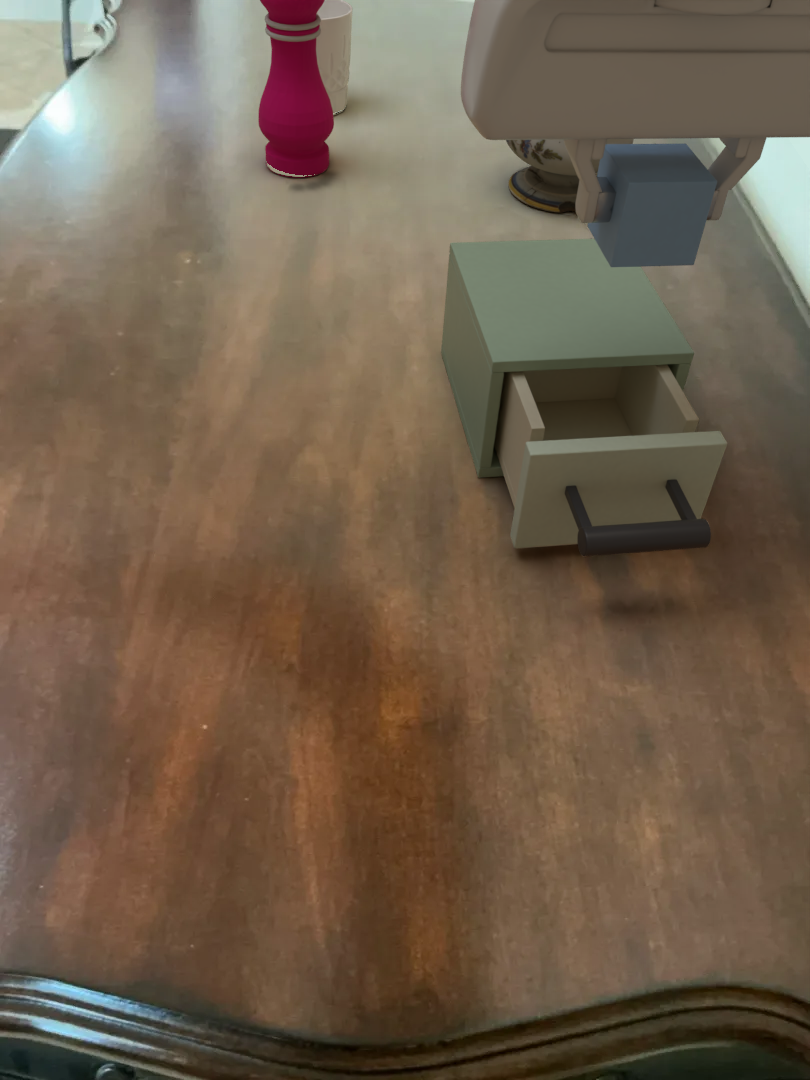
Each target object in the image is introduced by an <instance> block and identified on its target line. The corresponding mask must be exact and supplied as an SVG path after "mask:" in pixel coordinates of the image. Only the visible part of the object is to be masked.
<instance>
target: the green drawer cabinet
mask: <svg viewBox="0 0 810 1080" xmlns="http://www.w3.org/2000/svg"><path fill="white" fill-rule="evenodd" d="M447 263H448V265H447V278H446V286H445V287H446V288H445V289H446V290H445V300H444V311H443V312H444V313H443V325H442V334H441V335H442V336H441V348H440V354H441V357H442V361H443V364H444V367H445V368H444V369H445V371H446V374H447V378H448V382H449V385H450V388H451V391H452V394H453V398H454V401H455V406H456V408H457V411H458V415H459V418H460V421H461V425H462V429H463V431H464V435H465V437H466V442H467V445H468V447H469V452H470V455H471V458H472V461H473V466H474V468H475V472H476V474H477V478H478V479H479V478H481V479H482V478H495V477H504V474H503V471H502V468H501V465H500V462H499V459H498V456H497V453H496V450H495V447H494V441H495V434H496V427H497V420H498V413H499V406H500V398H501V391H502V384H503V377H504V372H516V371H537V370H559V369H580V368H601V367H623V366H644V365H665V364H667V365H668V367H669V368H670V370H671V372H672V374H673V375H674V377H675V379H676V380H677V382H678V384H679V386H680V387H681V389H682V391H683V392H684V390H685V386H686V383H687V379H688V376H689V373H690V369H691V366H692V362H693V359H694V355H695V351H694V350H693V348H692V346H691V345H690V343H689V342H688V340H687V339H686V336H685V335H684V333H683V332H682V330H681V329H680V327H679V325H678V324H677V322H676V320H675V319H674V317H673V316H672V313H670V312H669V310H668V308H667V306H666V304H665V303H664V302H663V300H662V297H660V295H659V293H658V291H657V290H656V288H655V287H654V285H653V283H652V282H651V280H650V279H649V277H648V275H647V274H646V272H645V270H644V269H643V268H642V267H610V265H609V263H608V261H607V260H606V258H605V256H604V254H603V253H602V251H601V249H600V247H599V246H598V244H597V242H596V240H595V239H594V238H567V239H565V238H563V239H533V240H499V241H497V240H496V241H495V240H494V241H463V242H462V241H461V242H460V241H459V242H458V241H457V242H450V243H449V254H448V262H447Z"/></svg>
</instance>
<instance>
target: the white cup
mask: <svg viewBox="0 0 810 1080" xmlns="http://www.w3.org/2000/svg"><path fill="white" fill-rule="evenodd" d="M353 9H354V8H353V6H352V5H351V4H350V3H349V2H348V1H345V0H325V1H324V3H323V5H322V6H321V7H320V9H319V10H318V12H317V15H318V16H319V17H320V19H321V22H320V24H319V25H320V29H321V33H320V35H319V36H318V37H316V55H317V64H318V68H319V72H320V76H321V79H322V81H323V84H324V87H325V89H326V91H327V94H328V96H329V98H330V102H331V106H332V110H333V113H335V112H338V111H340V110H343V109H344V108H345V106H346V104H347V105H348V95H349V93H348V92H349V80H350V67H351V52H352V31H353V29H352V28H353V27H352V26H353ZM346 107H347V106H346ZM345 109H346V108H345ZM342 112H343V111H341V112H339V113H337V114H334V115H333V116H336V115H338V114H341V113H342Z"/></svg>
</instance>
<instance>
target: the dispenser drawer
mask: <svg viewBox="0 0 810 1080" xmlns="http://www.w3.org/2000/svg"><path fill="white" fill-rule="evenodd" d="M699 421H700V419H699V417H698V415H697V413H696V411H695V410H694V408H693V407H692V404H691V403H690V402H689V400H688V398H687V396H686V394H685V393H684V390H683V391H682V389H681V387H680V386H679V384H678V382H677V380H676V379H675V377H674V375H673V374H672V372H671V370H670V368H669V367H668V365H667V364H665V365H644V366H623V367H601V368H580V369H559V370H537V371H516V372H504V377H503V384H502V391H501V398H500V406H499V413H498V420H497V427H496V434H495V441H494V447H495V450H496V453H497V456H498V459H499V462H500V465H501V468H502V471H503V474H504V476H503V477H504V480H505V483H506V486H507V487H506V488H507V489H508V492H509V496H510V499H511V502H512V505H513V508H514V510H513V515H512V521H511V522H512V523H511V527H510V532H509V533H510V534H509V536H510V539H511V543H512V546H513V548H514V549H529V548H540V547H541V548H542V547H555V546H556V547H557V546H569V545H571V546H572V545H577V548H578V551H579V555H581V556H582V557H583V558H584V557H598V556H599V557H600V556H611V555H624V554H625V555H626V554H639V553H652V552H653V553H654V552H665V551H666V552H667V551H681V550H693V549H695V550H696V549H705V548H707V547H709V545H710V544H711V539H712V530H711V525H710V524H709V522H708V520H707V519H706V518H702V517H703V513H704V511H705V508H706V505H707V502H708V499H709V497H710V493H711V491H712V488H713V486H714V482H715V480H716V477H717V474H718V472H719V468H720V465H721V463H722V460H723V457H724V454H725V452H726V449H727V445H728V441H727V440H726V439H725V437H724V435H723V434H722V432H721V431H720V430H708V431H696V430H697V427H698V424H699Z"/></svg>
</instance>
